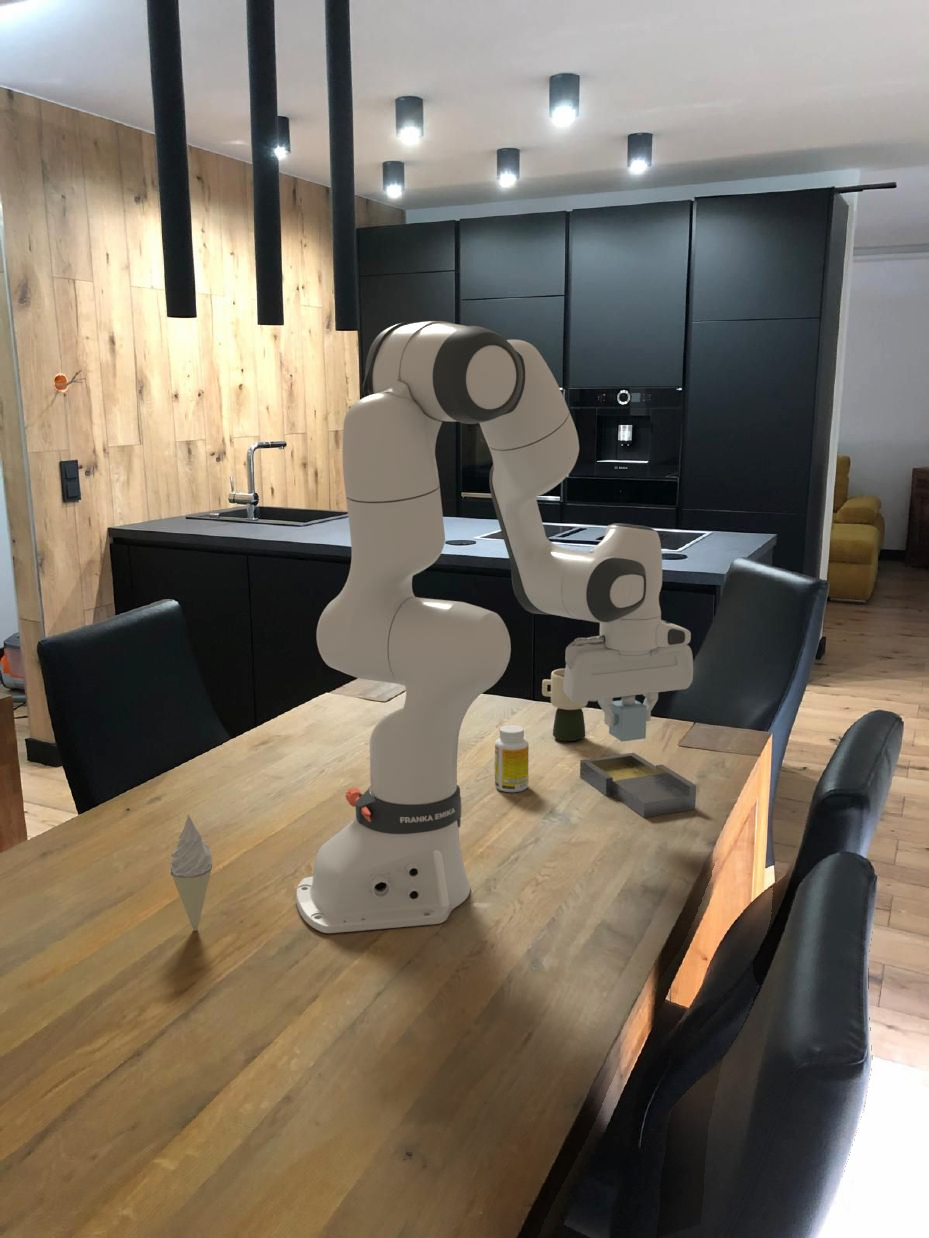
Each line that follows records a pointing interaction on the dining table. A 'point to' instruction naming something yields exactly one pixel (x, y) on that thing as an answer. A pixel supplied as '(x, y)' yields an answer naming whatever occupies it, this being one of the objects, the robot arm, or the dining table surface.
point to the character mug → (564, 709)
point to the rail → (640, 784)
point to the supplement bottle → (511, 759)
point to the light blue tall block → (629, 719)
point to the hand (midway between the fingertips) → (627, 722)
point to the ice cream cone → (191, 871)
